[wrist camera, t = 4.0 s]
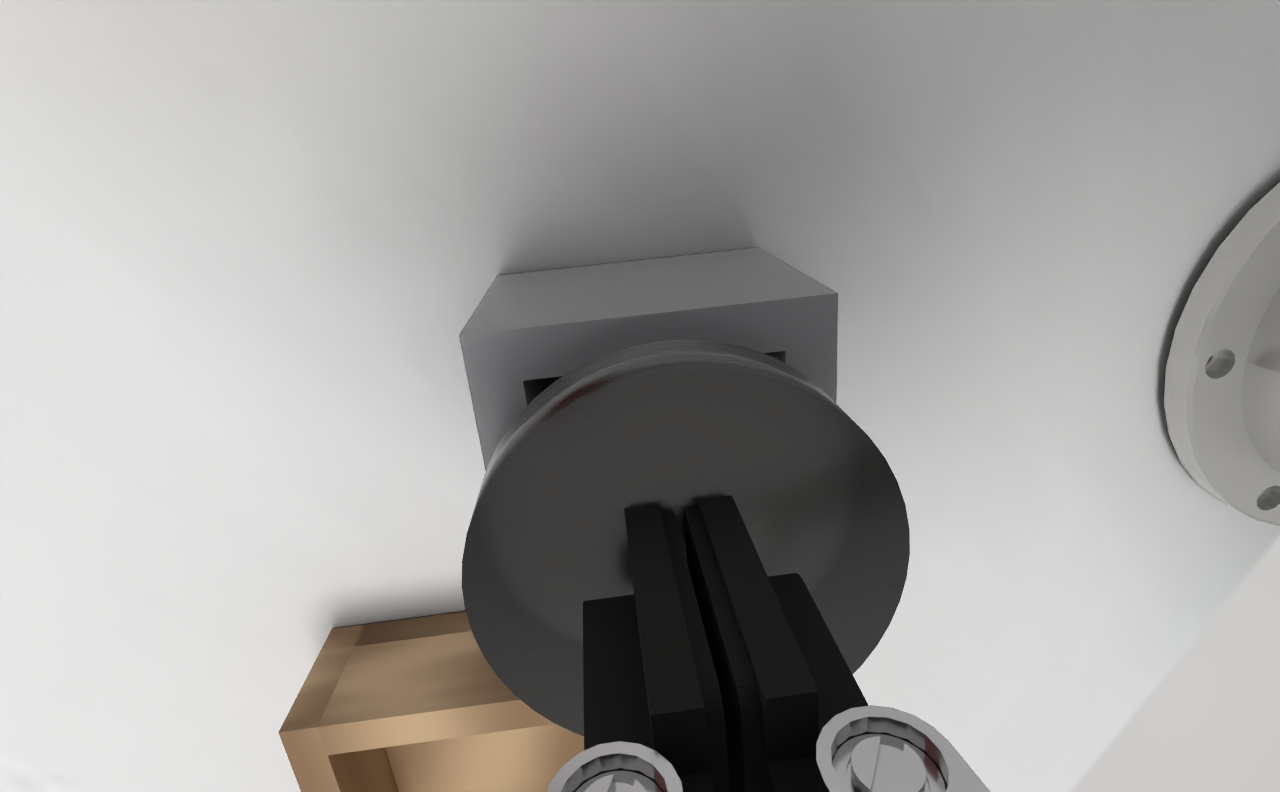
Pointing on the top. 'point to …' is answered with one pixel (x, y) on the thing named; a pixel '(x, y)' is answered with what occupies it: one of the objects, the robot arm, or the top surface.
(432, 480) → the top surface
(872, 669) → the top surface
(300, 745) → the caddy
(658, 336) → the mount
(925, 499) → the top surface
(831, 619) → the plunger
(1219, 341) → the robot arm
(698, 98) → the top surface
